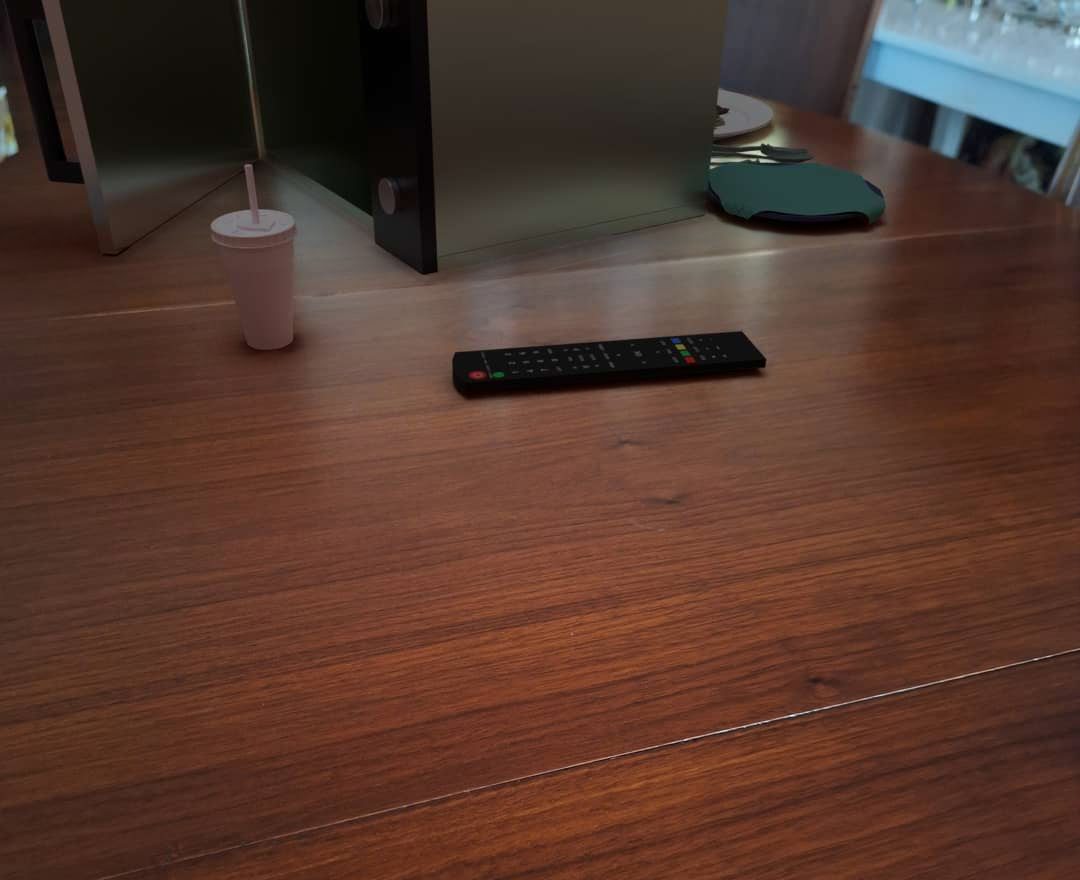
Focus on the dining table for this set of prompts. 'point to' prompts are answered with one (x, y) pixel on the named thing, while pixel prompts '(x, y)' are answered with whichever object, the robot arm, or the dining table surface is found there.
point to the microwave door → (140, 104)
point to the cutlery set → (789, 187)
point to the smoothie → (259, 269)
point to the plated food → (739, 114)
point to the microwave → (490, 116)
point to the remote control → (603, 361)
